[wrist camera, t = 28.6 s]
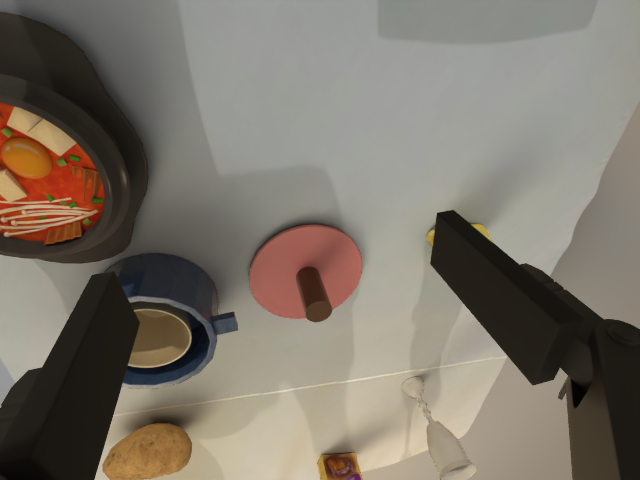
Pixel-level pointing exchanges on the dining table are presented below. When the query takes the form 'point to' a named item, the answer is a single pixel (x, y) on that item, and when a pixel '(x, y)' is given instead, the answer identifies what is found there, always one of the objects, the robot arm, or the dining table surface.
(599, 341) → the robot arm
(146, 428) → the potato
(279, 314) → the lid
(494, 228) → the dining table surface
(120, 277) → the pot
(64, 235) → the casserole
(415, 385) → the chalice
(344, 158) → the dining table surface
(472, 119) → the dining table surface
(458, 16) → the dining table surface
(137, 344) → the flower pot
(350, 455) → the candy box
